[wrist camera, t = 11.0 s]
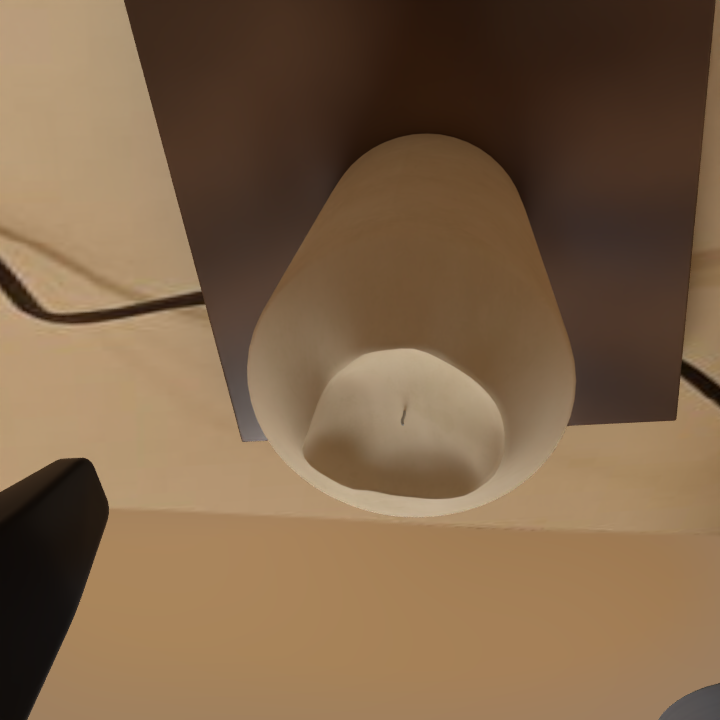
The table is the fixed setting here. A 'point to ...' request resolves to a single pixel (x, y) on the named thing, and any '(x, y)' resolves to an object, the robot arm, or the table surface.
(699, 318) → the table surface
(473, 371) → the candle
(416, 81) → the dark wooden base block
